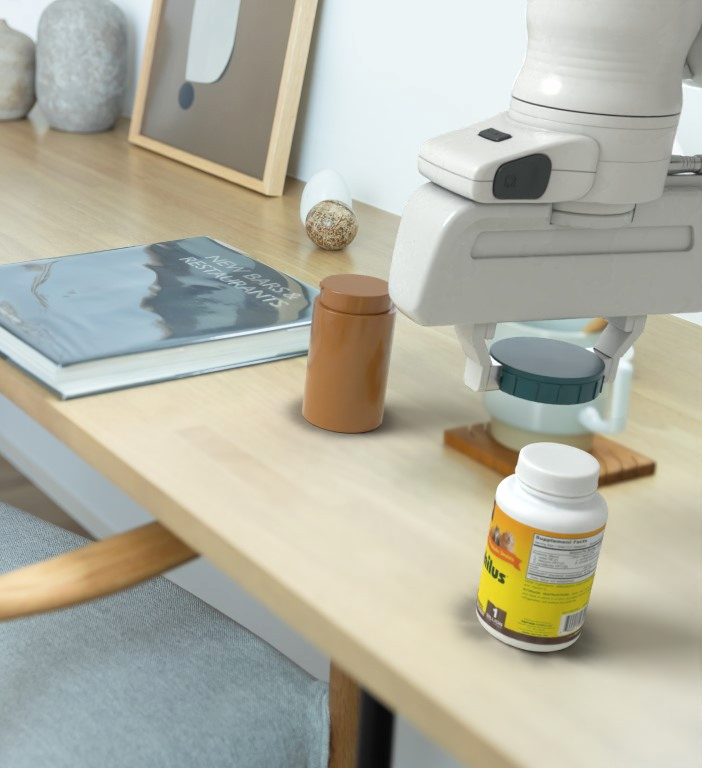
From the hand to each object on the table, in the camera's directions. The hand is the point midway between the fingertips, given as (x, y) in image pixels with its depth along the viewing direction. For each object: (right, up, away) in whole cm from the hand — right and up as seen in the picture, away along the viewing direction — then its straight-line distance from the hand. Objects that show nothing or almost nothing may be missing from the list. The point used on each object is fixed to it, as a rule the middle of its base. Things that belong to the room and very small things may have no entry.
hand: (537, 384), depth 70 cm
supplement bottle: (-3, -13, -7) cm, 15 cm away
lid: (0, +1, -1) cm, 2 cm away
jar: (-9, -2, +18) cm, 20 cm away
